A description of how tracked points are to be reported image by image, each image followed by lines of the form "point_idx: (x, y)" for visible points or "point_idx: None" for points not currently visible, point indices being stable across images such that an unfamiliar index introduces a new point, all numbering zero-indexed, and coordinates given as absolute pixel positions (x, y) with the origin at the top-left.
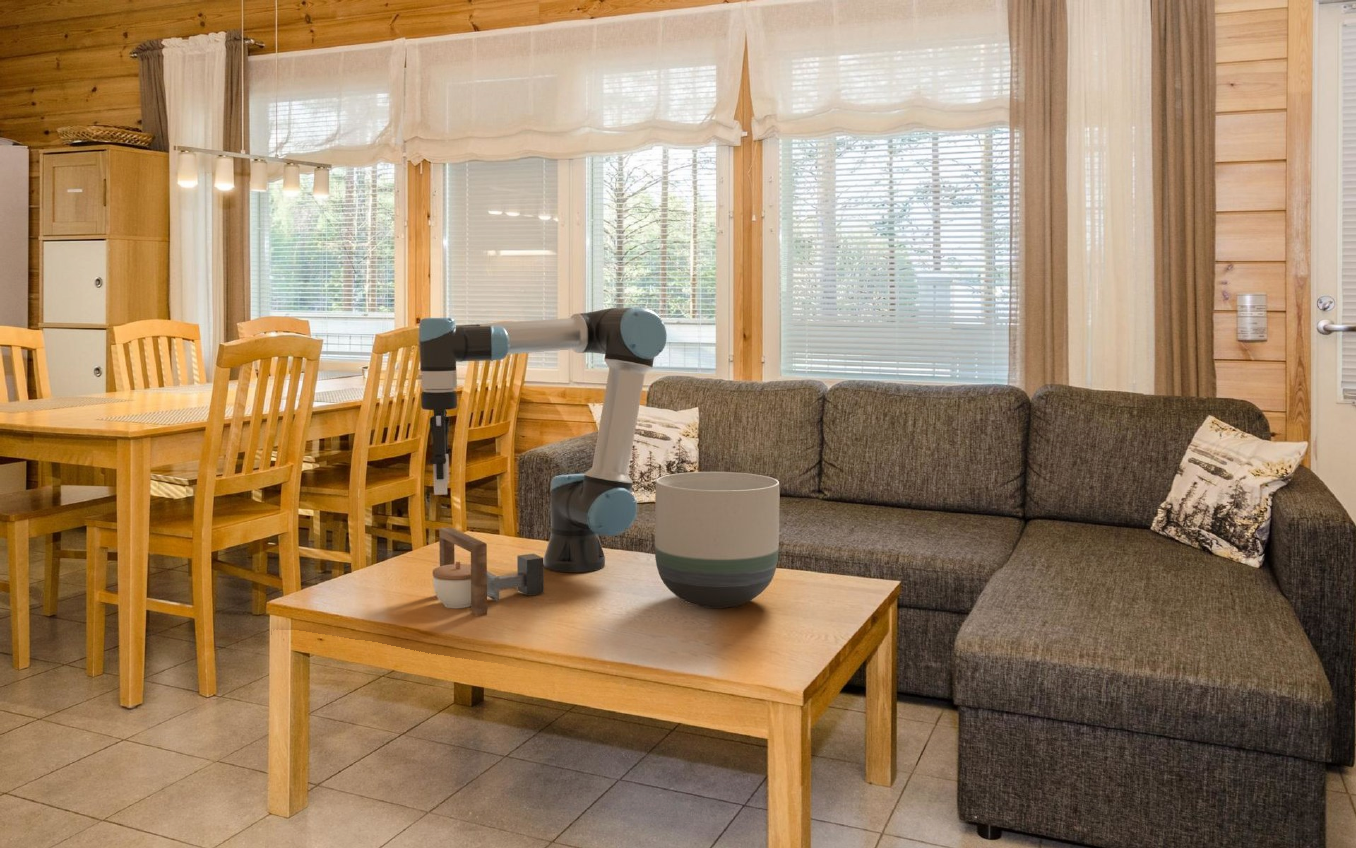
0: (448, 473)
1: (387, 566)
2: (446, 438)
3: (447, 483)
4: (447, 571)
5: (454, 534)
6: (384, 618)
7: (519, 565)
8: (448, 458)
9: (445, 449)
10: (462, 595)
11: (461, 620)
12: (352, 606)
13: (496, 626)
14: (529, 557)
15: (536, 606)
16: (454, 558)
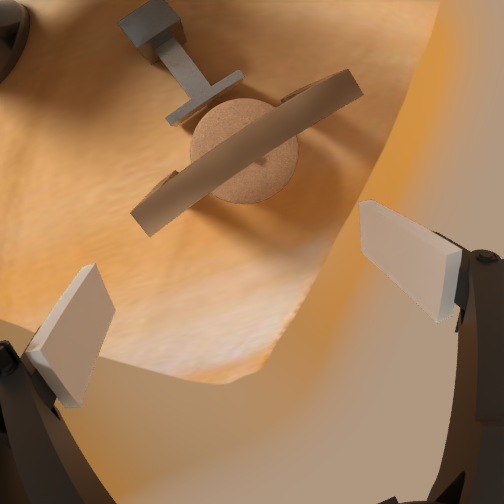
0: (80, 287)
1: (39, 325)
2: (62, 461)
3: (97, 270)
4: (270, 168)
5: (236, 170)
6: (319, 243)
7: (150, 46)
8: (40, 334)
9: (487, 312)
10: None
11: (330, 126)
12: (256, 306)
13: (357, 73)
14: (155, 20)
15: (242, 21)
16: (166, 180)
